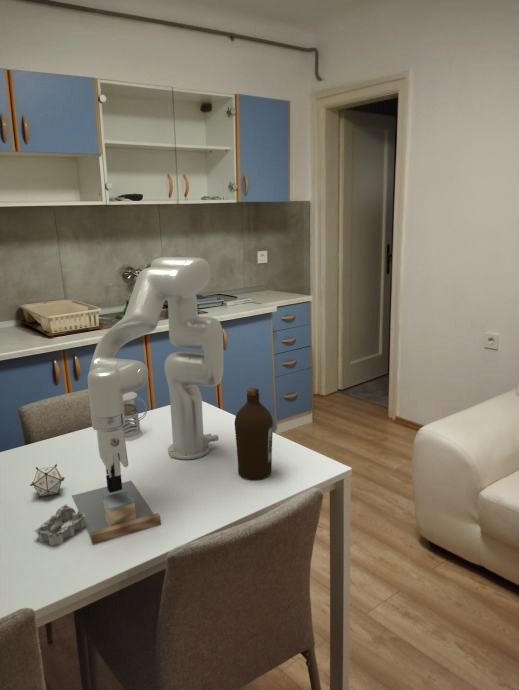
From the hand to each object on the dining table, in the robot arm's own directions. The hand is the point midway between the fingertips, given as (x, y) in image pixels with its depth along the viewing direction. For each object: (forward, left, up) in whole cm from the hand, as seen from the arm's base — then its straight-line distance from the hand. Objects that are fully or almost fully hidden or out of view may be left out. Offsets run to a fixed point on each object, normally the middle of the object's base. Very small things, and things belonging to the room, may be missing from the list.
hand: (114, 489), depth 136 cm
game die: (+13, -20, -8) cm, 25 cm away
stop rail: (0, +8, -7) cm, 11 cm away
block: (0, +3, -1) cm, 3 cm away
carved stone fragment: (+13, +1, -7) cm, 15 cm away
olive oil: (-40, -3, -7) cm, 41 cm away
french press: (-17, -48, -7) cm, 51 cm away
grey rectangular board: (0, -4, -7) cm, 8 cm away
